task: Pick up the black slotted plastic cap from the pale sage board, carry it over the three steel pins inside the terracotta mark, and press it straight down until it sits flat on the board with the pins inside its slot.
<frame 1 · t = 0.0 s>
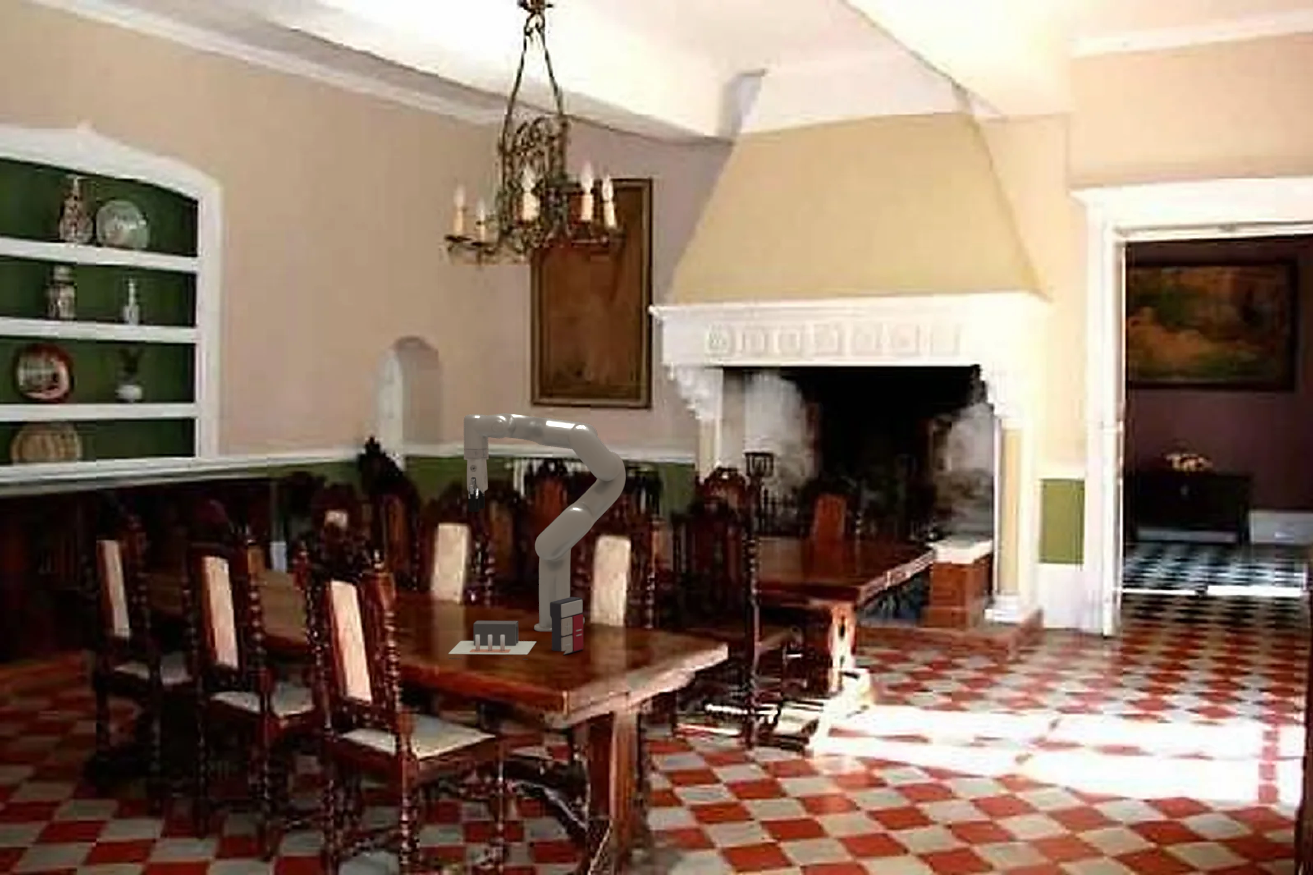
hand: (476, 510, 428), 37 cm above the table, tool pointing down, fingers open, 9 cm apart
header board: (493, 652, 394), on the table
housing: (496, 644, 399), point 1 cm above the table, touching header board
miniature cabinet: (567, 653, 394), on the table
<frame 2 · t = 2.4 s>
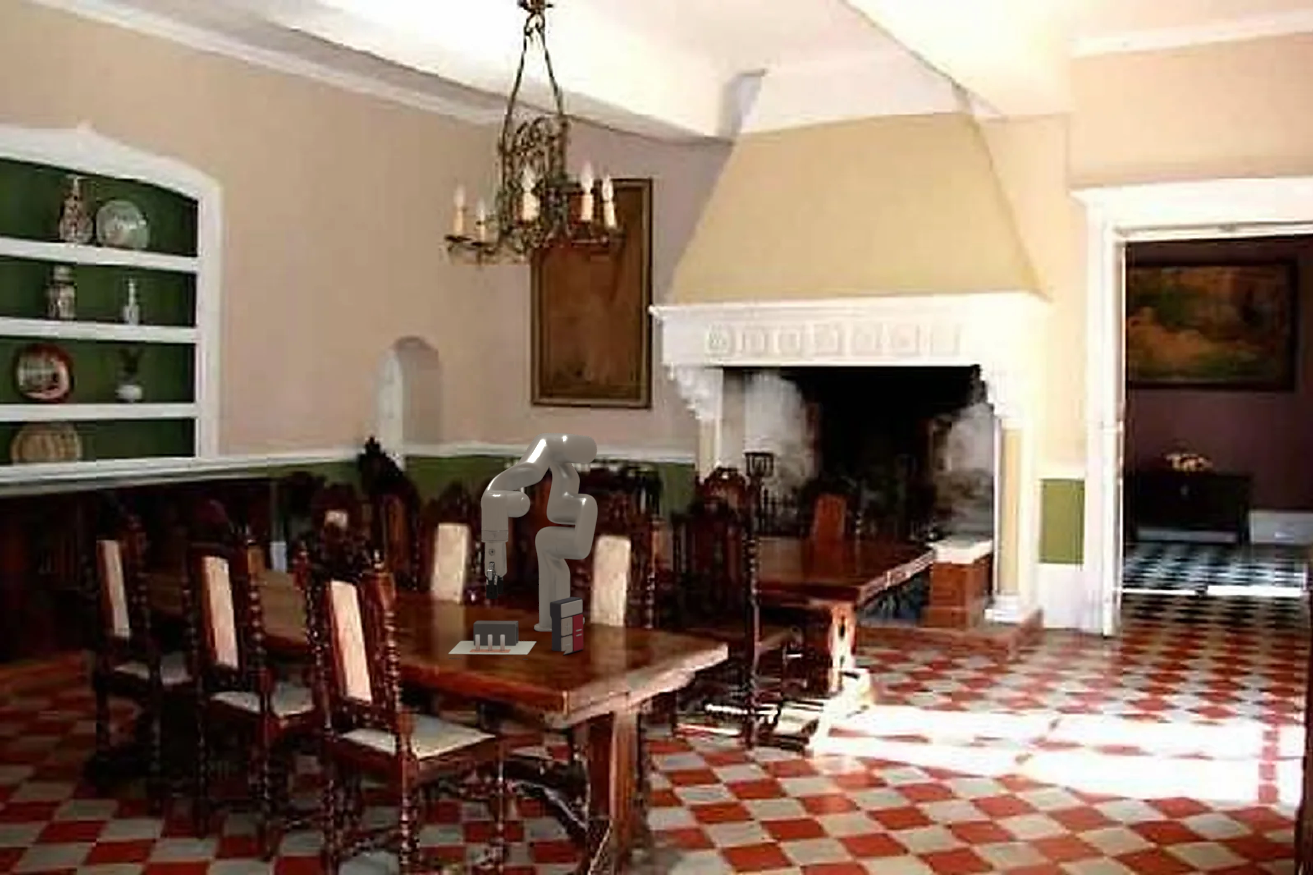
hand: (494, 596, 397), 15 cm above the table, tool pointing down, fingers open, 9 cm apart
nothing on the table moved.
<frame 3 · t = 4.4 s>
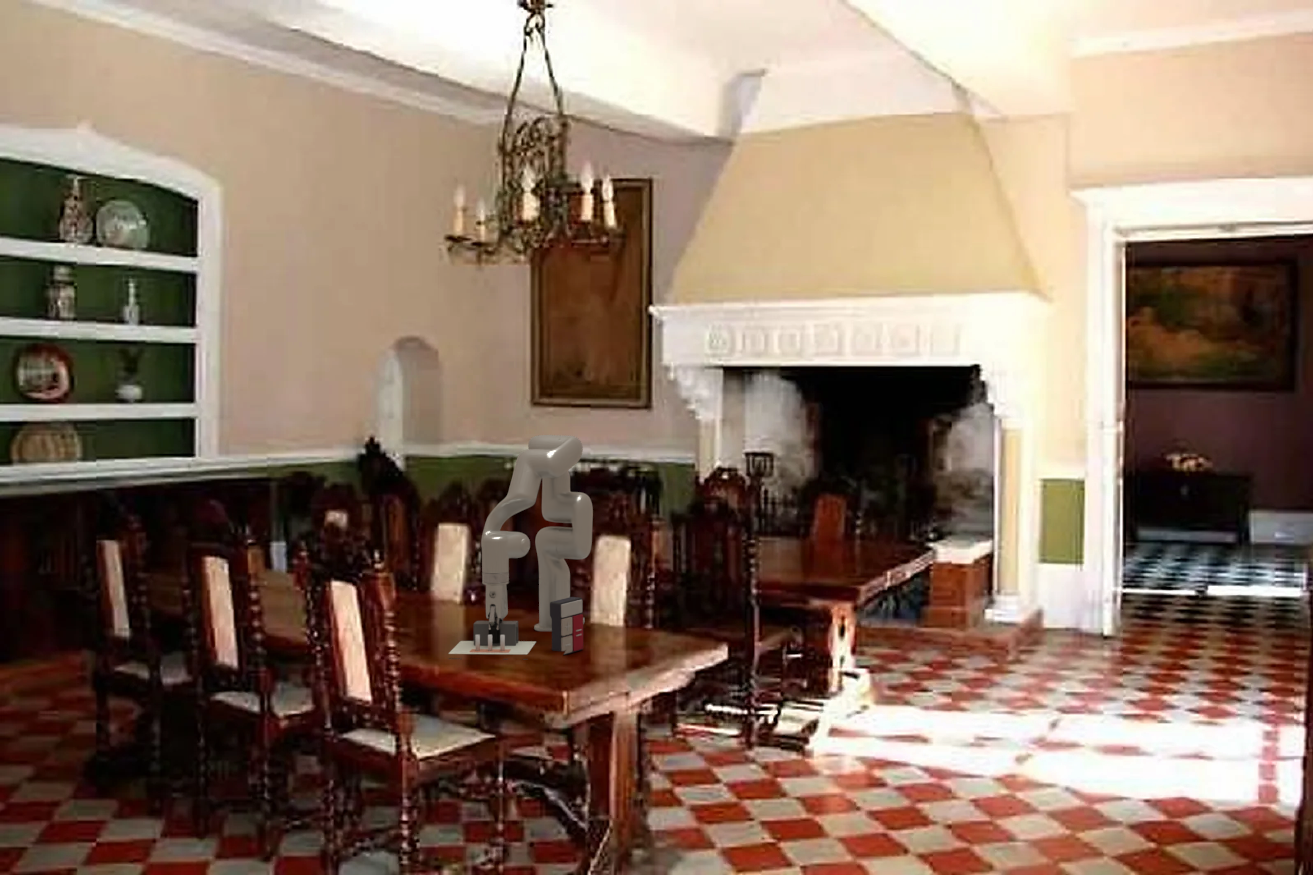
hand: (496, 640, 399), 2 cm above the table, tool pointing down, fingers closed on housing, 4 cm apart
housing: (496, 644, 399), point 1 cm above the table, touching gripper, header board
everything else where it was.
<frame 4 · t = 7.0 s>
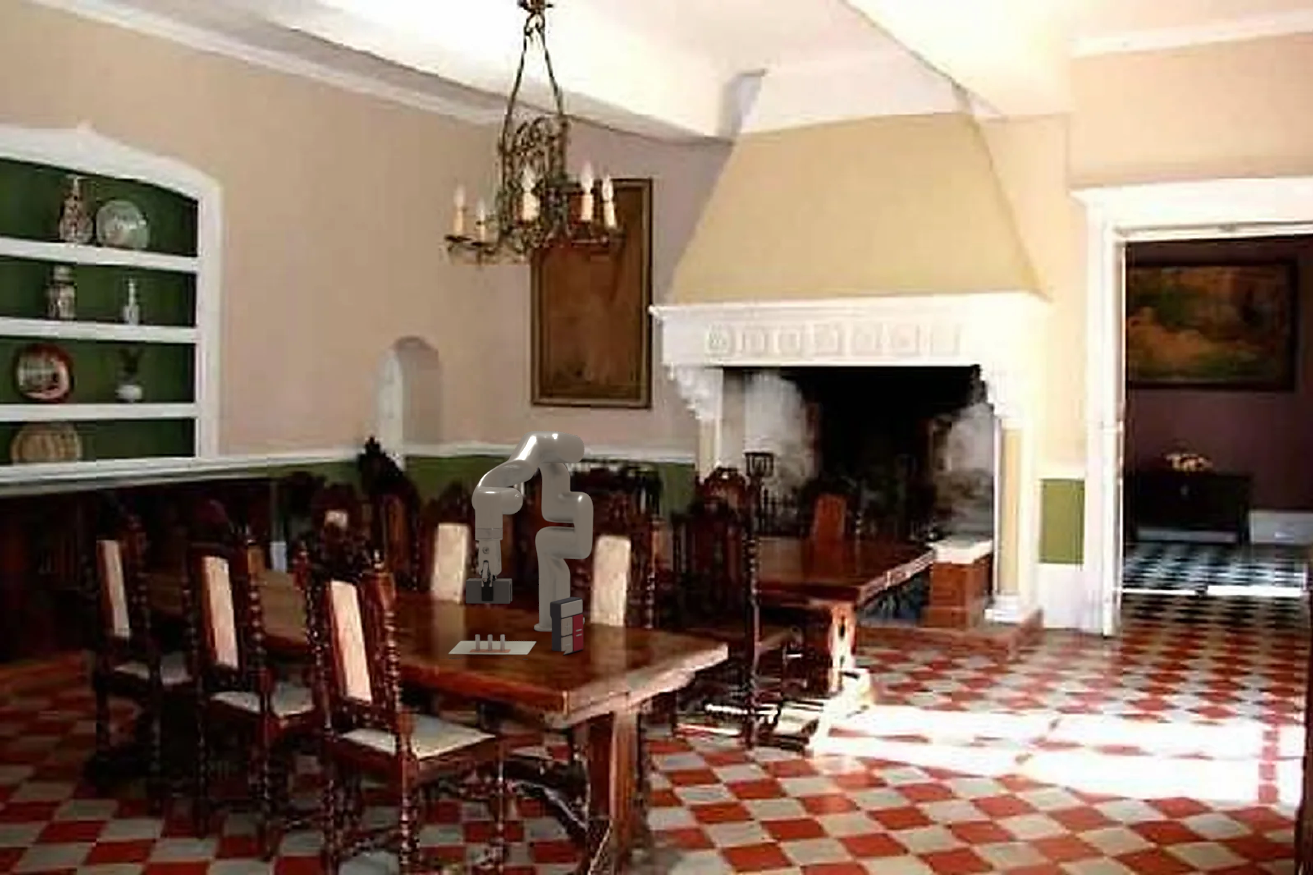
hand: (489, 598, 388), 16 cm above the table, tool pointing down, fingers closed on housing, 4 cm apart
housing: (489, 602, 388), point 15 cm above the table, touching gripper
everything else where it was.
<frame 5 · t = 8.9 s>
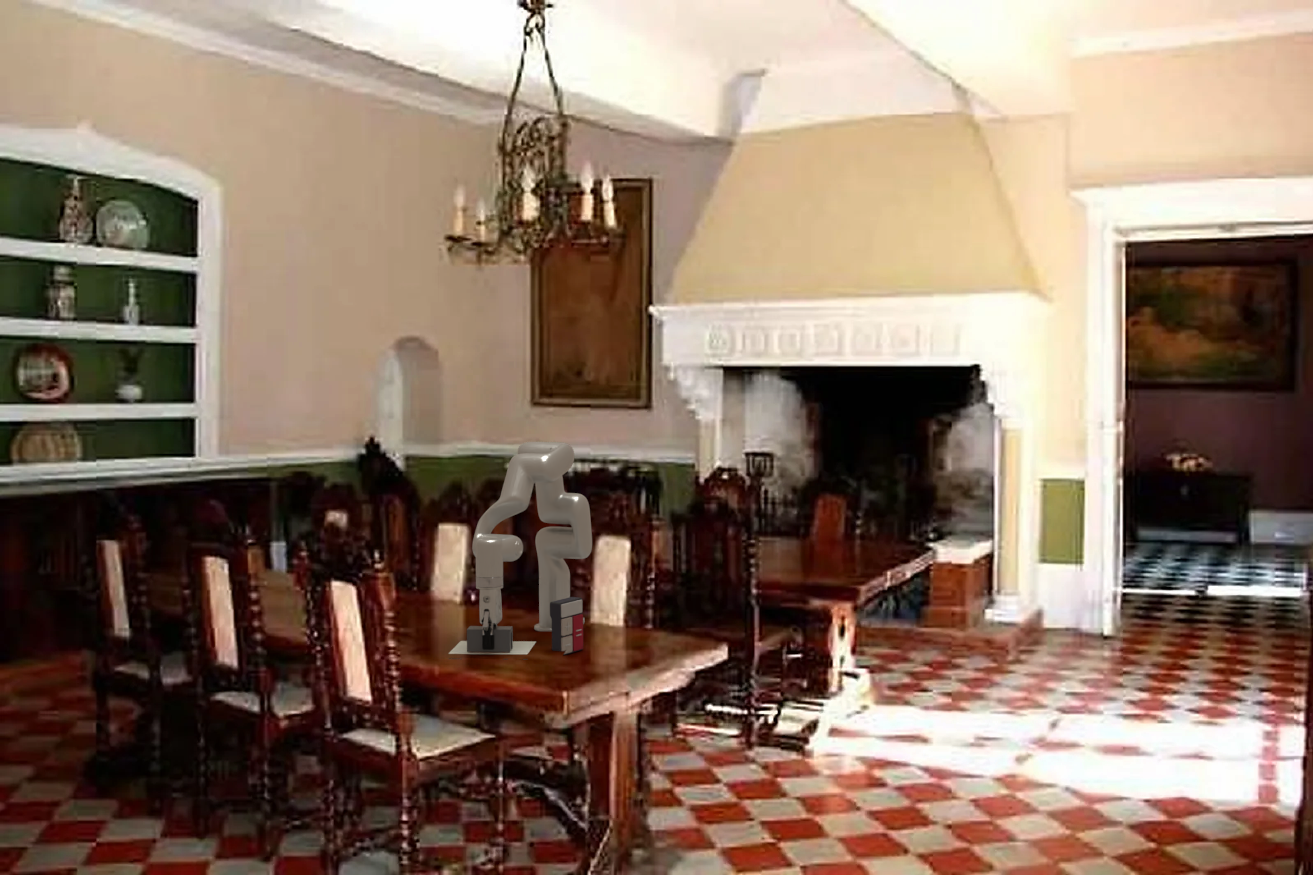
hand: (490, 646, 389), 3 cm above the table, tool pointing down, fingers closed on housing, 4 cm apart
housing: (490, 649, 389), point 2 cm above the table, touching gripper
everything else where it was.
when the fingers open (3 cm above the table, at t = 9.9 s): housing stays where it is, resting on header board.
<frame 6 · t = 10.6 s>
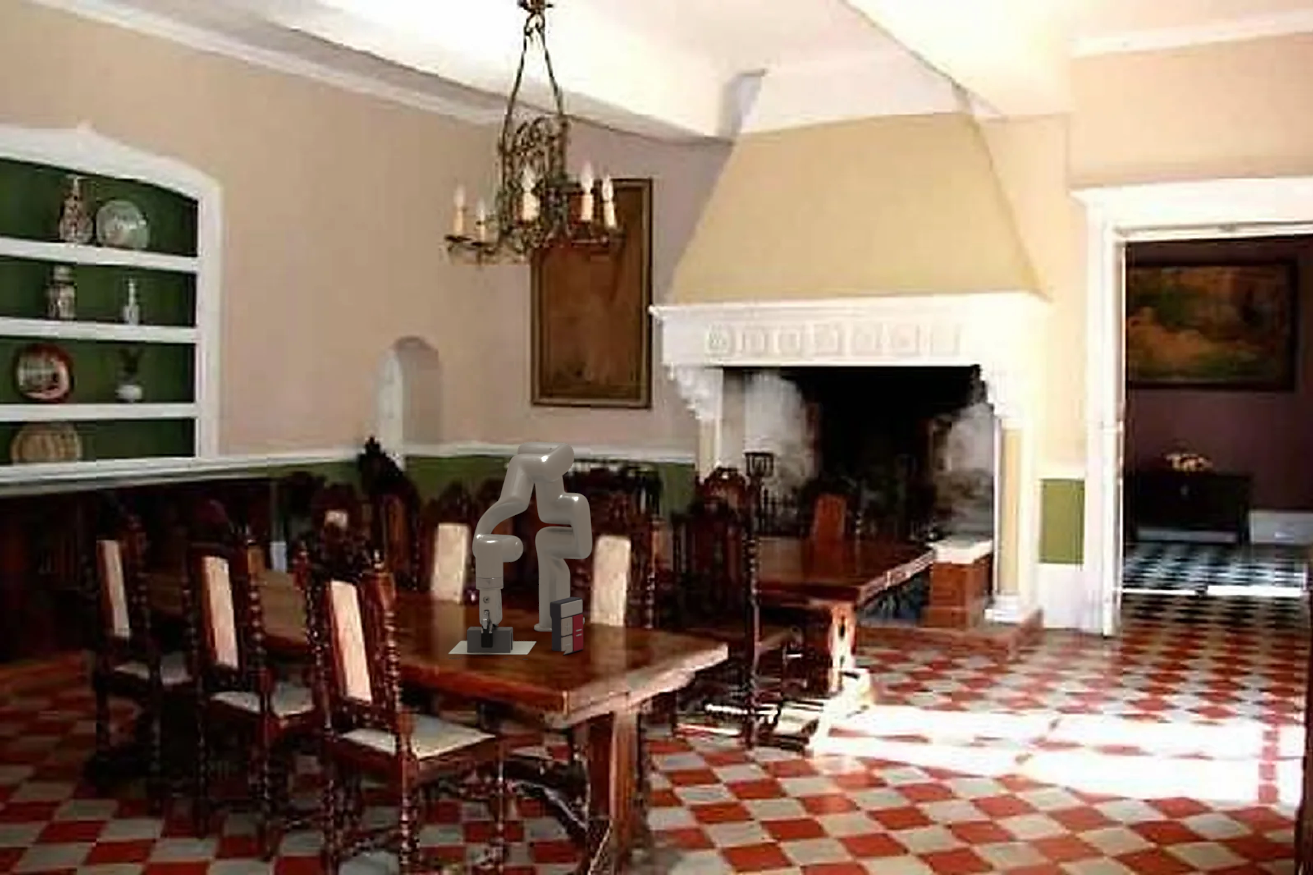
hand: (490, 643, 389), 4 cm above the table, tool pointing down, fingers open, 9 cm apart
housing: (490, 650, 389), point 2 cm above the table, touching header board
everything else where it was.
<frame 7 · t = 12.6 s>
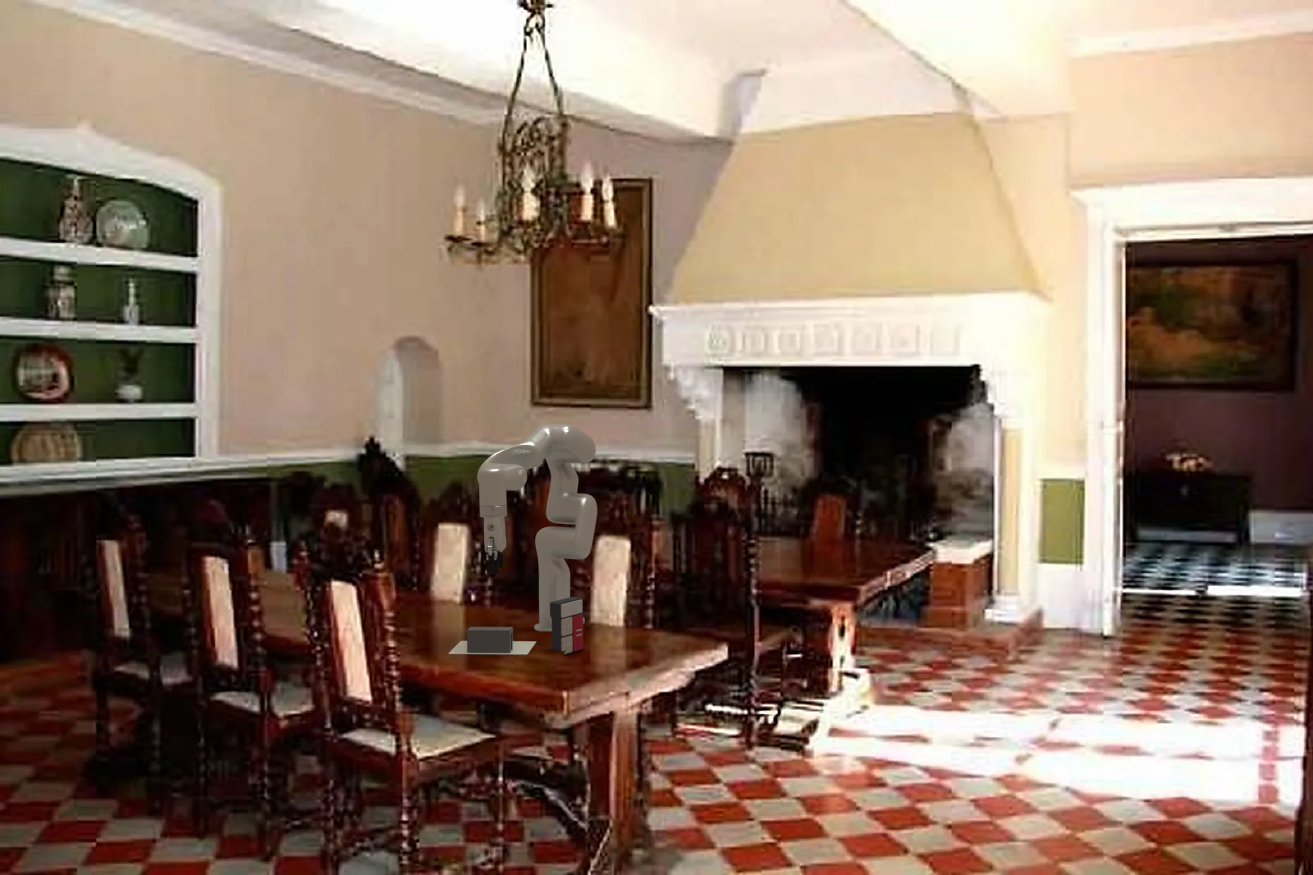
hand: (495, 570, 395), 23 cm above the table, tool pointing down, fingers open, 9 cm apart
nothing on the table moved.
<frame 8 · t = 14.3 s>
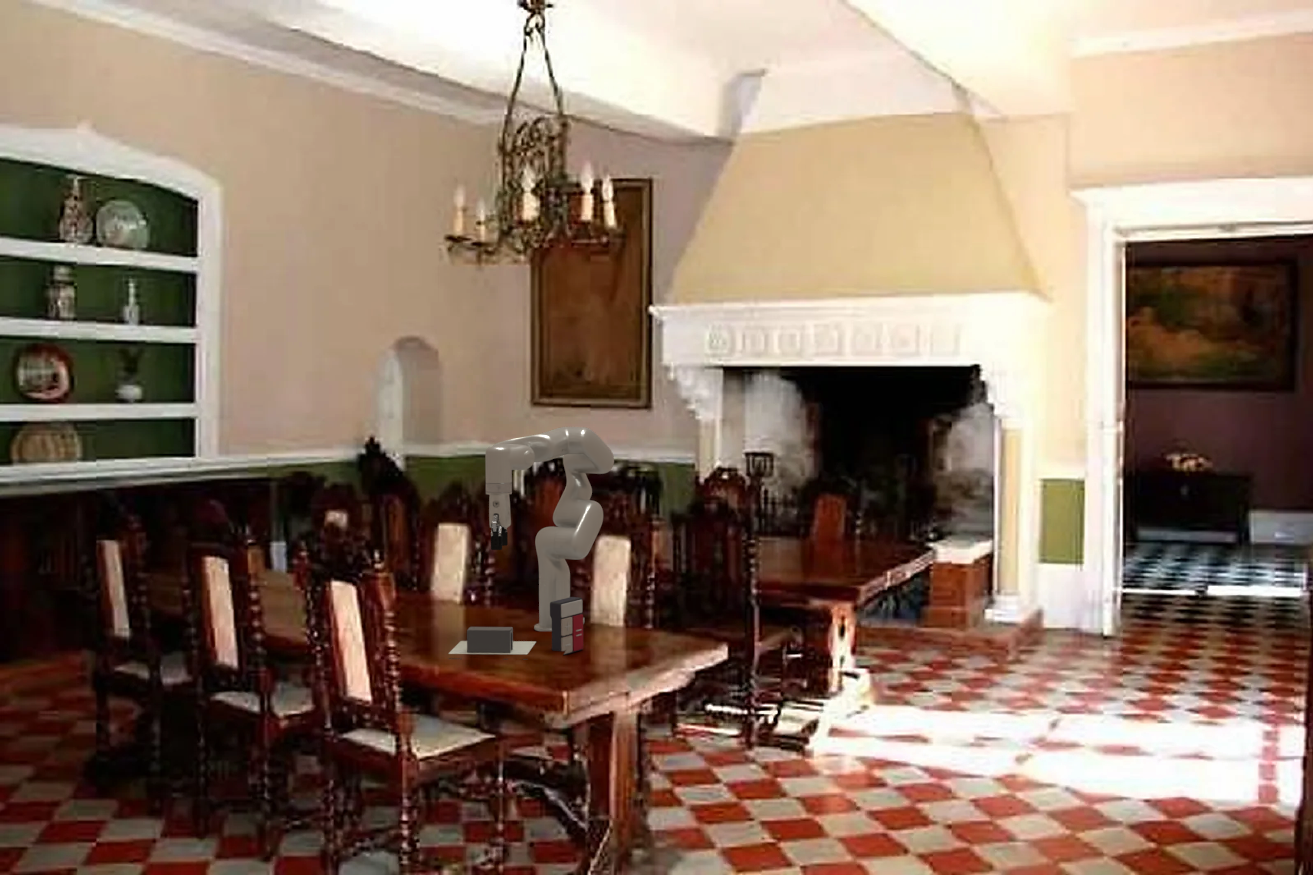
hand: (499, 547, 404), 28 cm above the table, tool pointing down, fingers open, 9 cm apart
nothing on the table moved.
at the end: housing 0.0 cm from the target spot on the header board, point 1.6 cm above the header board's base; housing tilted 0°; the gripper is holding nothing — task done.
